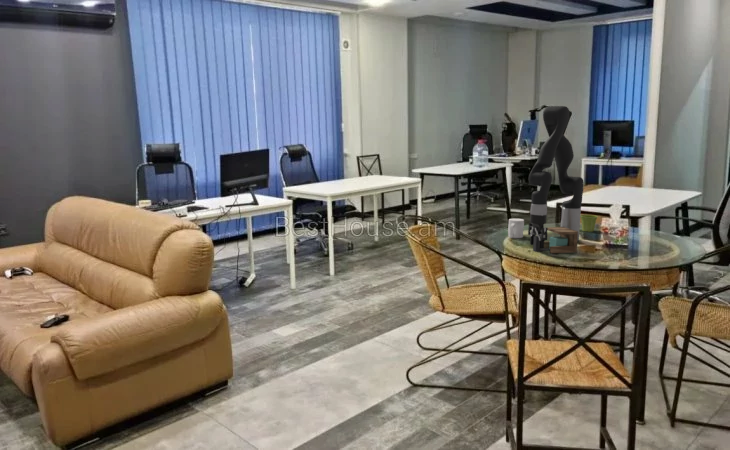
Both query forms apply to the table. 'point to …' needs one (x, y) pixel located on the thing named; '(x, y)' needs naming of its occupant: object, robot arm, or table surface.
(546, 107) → the robot arm
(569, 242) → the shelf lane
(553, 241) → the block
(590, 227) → the plant pot
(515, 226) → the mug
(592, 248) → the table surface
